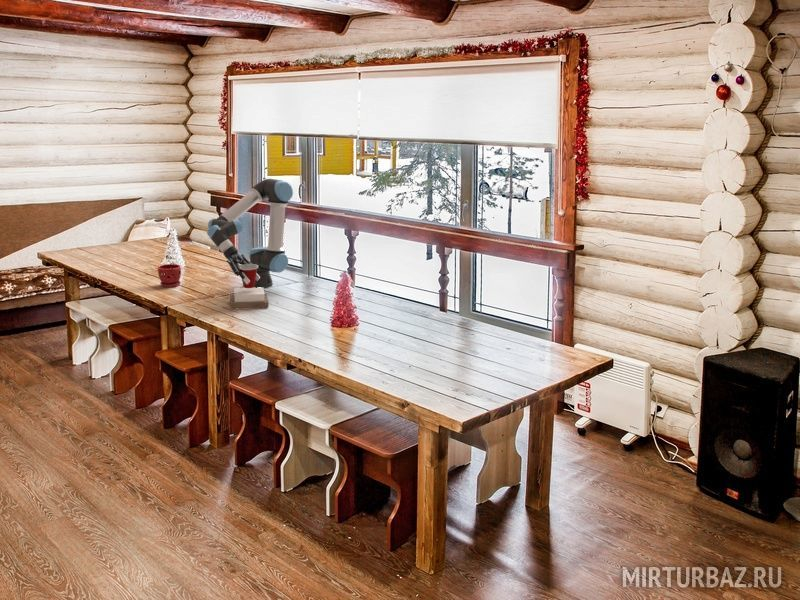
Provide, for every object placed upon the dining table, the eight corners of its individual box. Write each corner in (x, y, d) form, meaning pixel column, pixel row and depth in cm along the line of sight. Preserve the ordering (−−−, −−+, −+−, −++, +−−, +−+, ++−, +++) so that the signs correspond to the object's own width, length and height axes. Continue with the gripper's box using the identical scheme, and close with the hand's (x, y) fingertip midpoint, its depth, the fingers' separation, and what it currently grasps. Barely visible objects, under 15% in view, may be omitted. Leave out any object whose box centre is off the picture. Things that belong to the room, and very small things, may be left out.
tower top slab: (234, 295, 449) (234, 288, 448) (263, 294, 453) (263, 287, 452) (234, 302, 434) (234, 294, 433) (264, 301, 437) (264, 294, 436)
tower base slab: (230, 301, 451) (230, 294, 450) (266, 300, 456) (266, 293, 455) (231, 310, 433) (230, 303, 432) (268, 309, 437) (268, 302, 436)
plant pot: (159, 283, 486) (158, 264, 483) (182, 283, 488) (181, 263, 485) (157, 288, 474) (156, 268, 471) (180, 288, 476) (179, 268, 473)
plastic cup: (235, 288, 438) (234, 266, 435) (244, 284, 448) (244, 263, 445) (253, 290, 435) (252, 268, 432) (262, 285, 445) (261, 264, 442)
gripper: (235, 250, 453) (260, 281, 451) (212, 257, 433) (238, 289, 431) (243, 242, 450) (268, 273, 448) (220, 248, 430) (246, 280, 428)
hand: (253, 280), depth 440 cm, fingers closed on plastic cup, 9 cm apart
